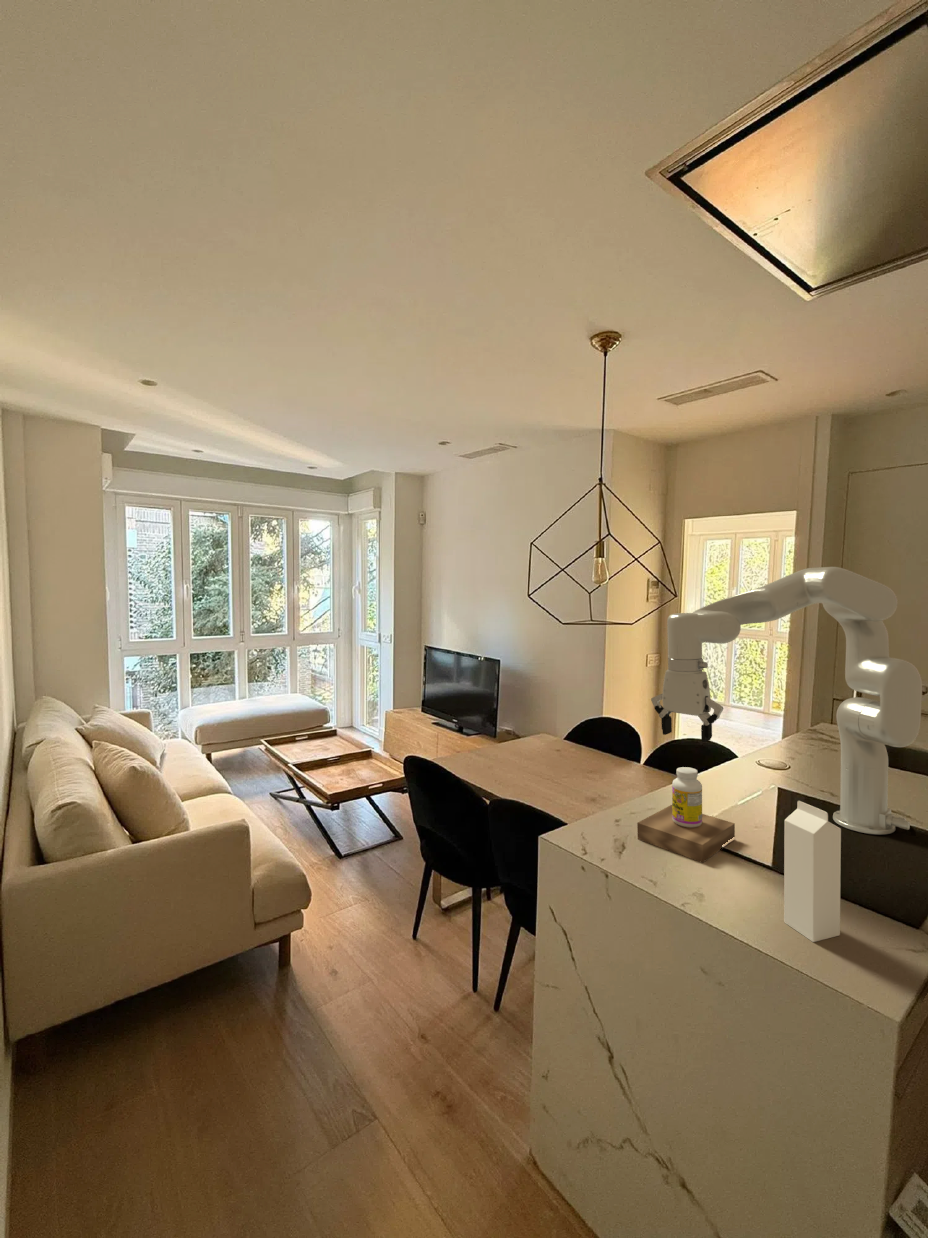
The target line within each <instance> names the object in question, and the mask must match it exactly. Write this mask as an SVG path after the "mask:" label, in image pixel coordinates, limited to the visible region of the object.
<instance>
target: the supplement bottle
mask: <svg viewBox="0 0 928 1238" xmlns="http://www.w3.org/2000/svg"><path fill="white" fill-rule="evenodd" d="M698 773H699V772H698V769H696V768H693V767H688V766H687V767H686V766H685V767H684V766H682V767H677V768H676V773H675V775H676V776H677V777H676V778H674V779H673V780H672V784H671V790H672V792H671V793H672V794H671V795H672V797H671V799H672V801H671V805H672V819H673V821H674V822H675V823H676V824H678V825H680V826H683V827H689V828H693V827H698V826H700V825H701V824H702V814H703V784H702V783H701V781H700V780H698V779H697V778H698V777H699V775H698Z"/></svg>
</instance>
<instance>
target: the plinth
mask: <svg viewBox="0 0 928 1238" xmlns="http://www.w3.org/2000/svg"><path fill="white" fill-rule="evenodd" d="M636 824H637V826H636V827H637V839H638V840H639V841H642V842H645V843H647V844H650V845H653V846H656V847H659V848H661V849H664V850H667V851H669V852H672V853H675V854H678V855H680V856H682V857H686V858H688V859H691V860H694V861H696V862H699V863H704V862H706V861H707V860H708V859H710V858H711V857H713V856H714V855H715V854H717V853H718V852H719V851H721V850H722V849H721V847H722V845H723V844H725V843H726V842H728V840H730V839H732V838H733V837H736V835H735V833H736V828H735V824H736V823H734V822H731V821H728V820H724V819H722V818H717V817H715V816H711V815H708V814H705V813H702V824H701V825H700V826H698V827H693V828H689V827H683V826H680V825H678V824H676V823H675V822H674V821H673V819H672V804H670V805H668V806H667V807H664V808H662V809H660V810H659V811H656V812H655V813H654V814H651V815H650V816H648V817H646V818H643V819H642V820H639V822H637V823H636ZM720 849H721V850H720Z"/></svg>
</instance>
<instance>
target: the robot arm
mask: <svg viewBox="0 0 928 1238" xmlns="http://www.w3.org/2000/svg"><path fill="white" fill-rule="evenodd" d="M898 601H899V600H898V598H897V595H896V593H895V592H894V590H892V588H890V587H889V586H887V585H886V584H883V583H881V582H879V581H876V580H874V579H871V578H869V577H866V576H864V575H861V574H858V573H856V572H854V571H851V570H850V569H845V568H844V567H838V566H824V567H823V566H822V567H808V568H804V569H800V570H798V571H796V572H793V573H791V574H787V575H786V576H784V577H781V578H779V579H777V580H774V581H773V582H770V583H768V584H765V585H763V586H760V587H758V588H755V589H751V590H748V591H744V592H742V593H739V594H736V595H733V596H730V597H726V598H723V599H719V600H717V601H715V602H713V603H709V604H707V605H704V606H703V607H700V608H699V609H696V610H695V611H693V612H677V613H672V614H669V616H668V617H667V620H666V621H667V622H666V623H667V624H666V626H667V628H666V629H667V630H666V631H667V670H665V673H664V677H663V684H662V693H660V694H658V695H655V696H654V697H652V698H651V699H650V701H651V703H652V705H653V707H654V710H655V712H656V713H657V714H658V717H659V718H660V719H661V722H660V723H661V731H662V735H664V736H666V735H668V734H671V733H673V732H672V731H673V728H672V727H673V726H672V716H670V715H671V714H672V713H675V714H681V715H687V716H688V715H689V716H695V717H698V718H699V719H700V721H701V722H702V723H703V724H701V727H700V728H701V729H700V731H701V734H700V735H701V737H700V738H701V739H700V741H701V742H702V743H707V742H709V741H711V739H712V737H713V724H714V723H715V722H716V721H717V720H718V719H720V716H721V714H722V713H723V711H724V706H722V705H720V704H719V703H718V702H716V701H715V700H713V699H711V697H712V696H711V691H710V690H711V689H710V684H709V677H708V674H707V671H703V670H704V669H707V668H708V666H709V663H708V662H705V661H704V658H703V644H704V643H708V644H718V645H719V644H720V645H723V644H728V643H730V642H733V641H734V640H735V639H737V638H738V636H739V635H740V633H741V626H742V625H750V624H764V623H768V622H773V621H777V620H779V619H781V618H784V617H787V616H788V615H790V614H793V613H795V612H797V611H799V610H802V609H804V608H807V607H808V606H809V607H810V606H811V605H814V604H822V606H823V609H824V610H825V612H826V613H827V614H828V615H830V616H831V618H833V619H835V621H837V622H838V623H839V624H840V626H841V627H842V630H843V632H844V634H845V635H844V636H845V666H844V667H845V670H844V675H845V676H844V677H845V679H844V680H845V683H846V684H847V686H848V687H849V688H850V689H851V690H853V691H856V692H858V693H862V694H866V695H872V696H876V697H879V700H876V699H871V698H866V697H857V696H856V697H850V698H847V699H845V700H843V701H842V702H841V703H840V704H839V706H838V708H837V710H836V724H837V728H838V734H839V739H840V795H839V796H840V802H839V803H840V804H839V805H840V807H839V810H836V811H834V812H833V815H832V819H833V821H834V822H835V823H836V824H838V825H839V826H841V827H843V828H845V829H848V830H851V831H854V832H858V833H864V834H868V835H880V836H881V835H890V834H893V833H894V832H895V831H896V827H897V828H899V829H902V830H903V829H904V830H907V831H908V830H910V828H911V827H910V826H911V822H910V821H908V820H907V819H906V818H905V817H901V816H896V815H895V814H893V813H892V809H891V808H889V805H888V803H889V802H888V801H889V799H888V797H889V796H888V794H889V788H888V787H889V784H888V783H889V756H888V752H887V747H886V745H887V746H890V747H893V748H904V747H905V748H906V747H908V746H910V745H911V744H913V743H914V742H915V741H916V740H917V737H918V736H919V734H920V733H919V732H920V728H921V719H922V718H921V717H922V699H923V681H922V676H921V674H920V672H919V670H918V668H917V667H916V666H915V665H914V664H913V663H912V662H909V661H908V660H905V659H902V658H895V657H890V648H889V647H890V642H889V638H890V637H889V632H888V628H887V627H886V625H885V623H884V620H887V619H889V618H891V617H892V616H893V615H894V614H895V613H896V610H897V608H898ZM661 700H662V705H661ZM712 709H713V712H712V714H710V712H711V711H712Z"/></svg>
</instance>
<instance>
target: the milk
mask: <svg viewBox="0 0 928 1238" xmlns="http://www.w3.org/2000/svg"><path fill="white" fill-rule="evenodd" d="M783 834H784V840H783V841H784V844H783V845H784V846H783V847H784V854H783V855H784V856H783V857H784V864H783V867H784V868H783V869H784V870H783V873H784V875H783V876H784V883H783V885H784V887H783V888H784V889H783V894H784V895H783V899H784V900H783V906H784V907H783V909H784V910H783V913H784V914H783V922H784V923H785V924H786V925H788V927H790V928H792V929H794V931H796V932H797V933H799V934H800V935H801V936H803V937H805V939H808V940H809V941H811V942H812V943H816V942H819V941H824V940H827V939H830V938H831V939H832V938H834V937H838V936H840V935H841V871H842V870H841V866H842V865H841V859H842V858H841V854H842V851H841V850H842V849H841V848H842V828H841V827H838V826H837V825H835V824H833V823H832V822H830V821H829V813H828V812H827V811H825V810H822V809H821V808H818V807H816V806H813V805H810V804H808V803H806V802H803V801H801V800H797V808H796V809H795V810H794V811H793V812H792V813H791V814H789V815H788V816H787V817H786V818H785V819H784V833H783Z"/></svg>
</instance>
